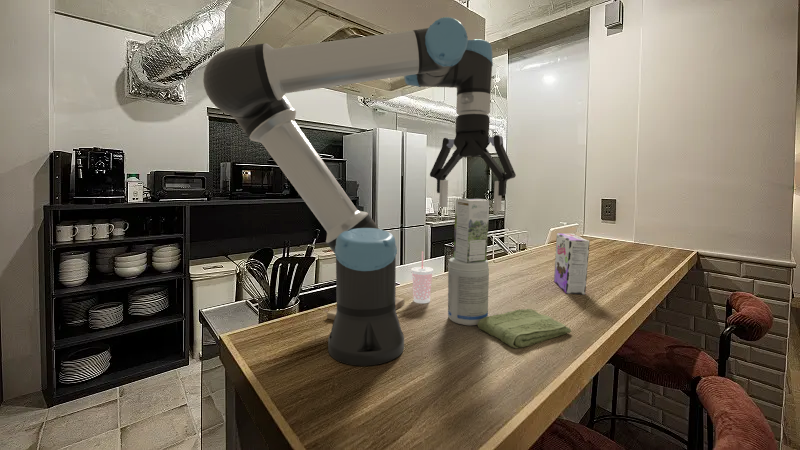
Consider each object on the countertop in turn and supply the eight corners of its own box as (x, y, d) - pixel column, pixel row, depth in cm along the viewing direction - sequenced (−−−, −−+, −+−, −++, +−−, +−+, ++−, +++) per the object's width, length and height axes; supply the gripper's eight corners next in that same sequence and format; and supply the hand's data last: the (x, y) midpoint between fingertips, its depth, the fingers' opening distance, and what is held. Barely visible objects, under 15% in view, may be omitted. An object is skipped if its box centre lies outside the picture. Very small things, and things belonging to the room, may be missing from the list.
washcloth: (574, 336, 81) (575, 322, 81) (515, 353, 73) (516, 337, 72) (528, 316, 93) (528, 303, 92) (472, 329, 84) (473, 315, 84)
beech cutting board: (369, 327, 84) (369, 321, 83) (327, 318, 89) (327, 312, 89) (404, 304, 100) (404, 298, 99) (366, 297, 105) (366, 292, 105)
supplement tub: (495, 319, 89) (497, 260, 87) (472, 330, 83) (474, 266, 81) (462, 309, 96) (464, 254, 94) (439, 318, 90) (440, 259, 88)
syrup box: (472, 256, 91) (474, 198, 89) (487, 261, 86) (489, 199, 84) (452, 258, 89) (454, 198, 87) (467, 263, 84) (469, 199, 82)
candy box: (553, 281, 123) (556, 232, 121) (571, 282, 122) (574, 233, 120) (565, 293, 109) (569, 239, 107) (586, 294, 109) (590, 240, 107)
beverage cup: (413, 296, 106) (414, 248, 104) (434, 298, 105) (435, 249, 103) (408, 303, 100) (409, 252, 99) (430, 305, 99) (431, 254, 97)
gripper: (417, 117, 87) (415, 206, 90) (523, 107, 73) (517, 213, 76) (433, 121, 93) (430, 204, 96) (533, 113, 79) (527, 211, 82)
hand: (469, 208), depth 86 cm, fingers open, 13 cm apart
